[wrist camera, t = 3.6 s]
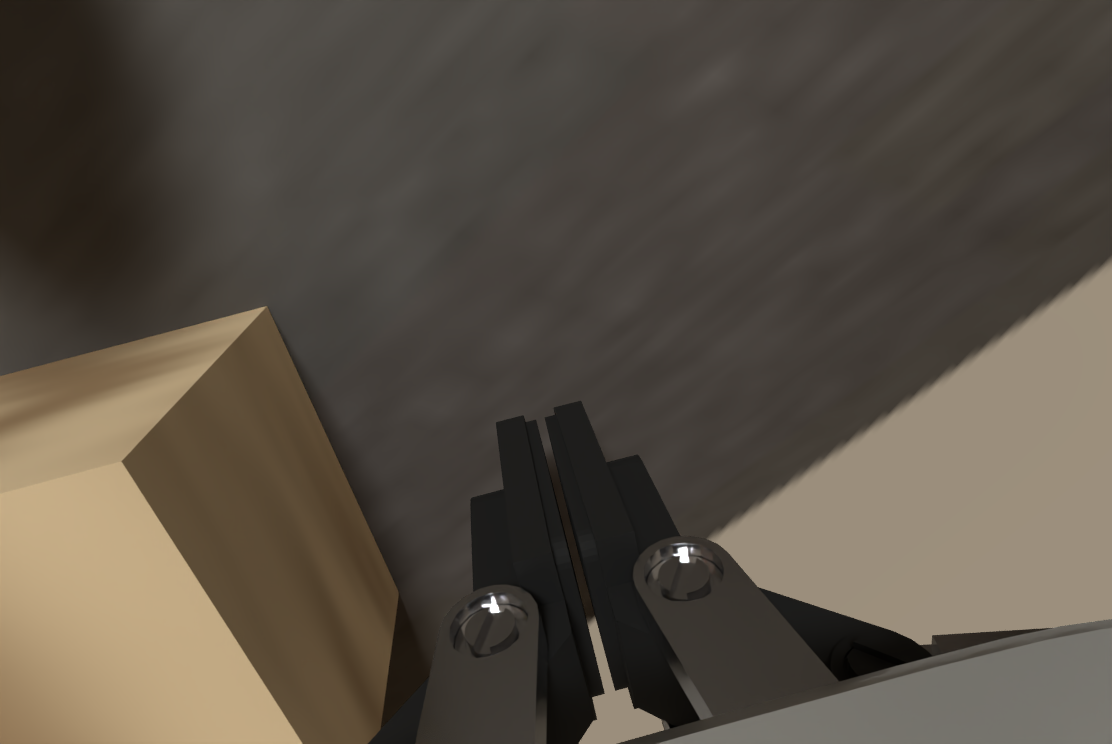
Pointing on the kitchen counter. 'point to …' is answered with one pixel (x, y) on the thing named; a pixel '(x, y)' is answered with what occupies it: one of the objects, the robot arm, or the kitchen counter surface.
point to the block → (184, 551)
